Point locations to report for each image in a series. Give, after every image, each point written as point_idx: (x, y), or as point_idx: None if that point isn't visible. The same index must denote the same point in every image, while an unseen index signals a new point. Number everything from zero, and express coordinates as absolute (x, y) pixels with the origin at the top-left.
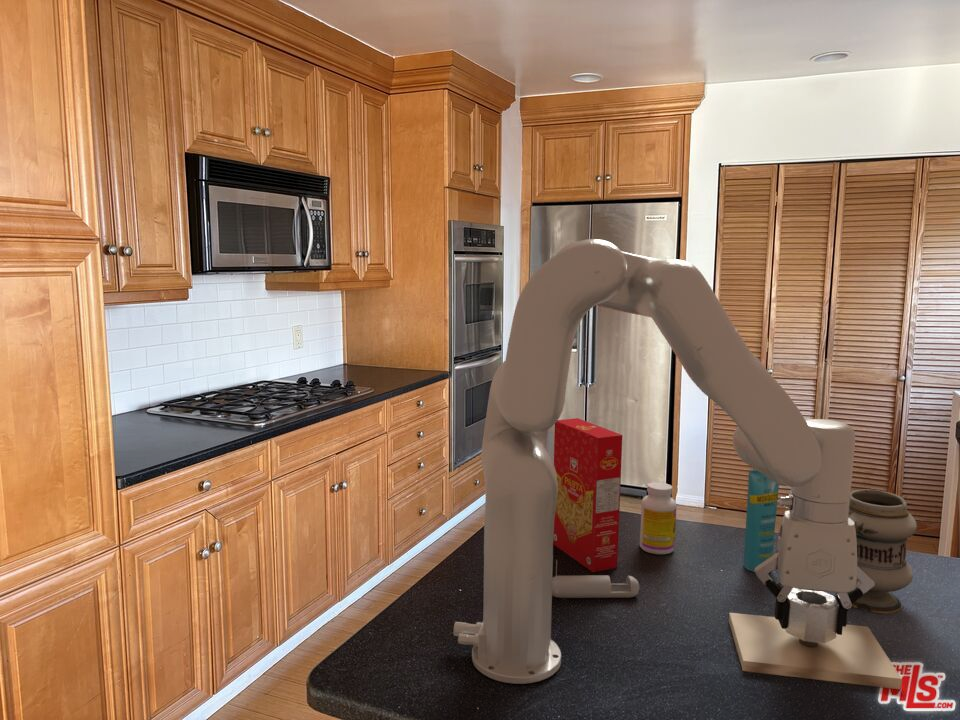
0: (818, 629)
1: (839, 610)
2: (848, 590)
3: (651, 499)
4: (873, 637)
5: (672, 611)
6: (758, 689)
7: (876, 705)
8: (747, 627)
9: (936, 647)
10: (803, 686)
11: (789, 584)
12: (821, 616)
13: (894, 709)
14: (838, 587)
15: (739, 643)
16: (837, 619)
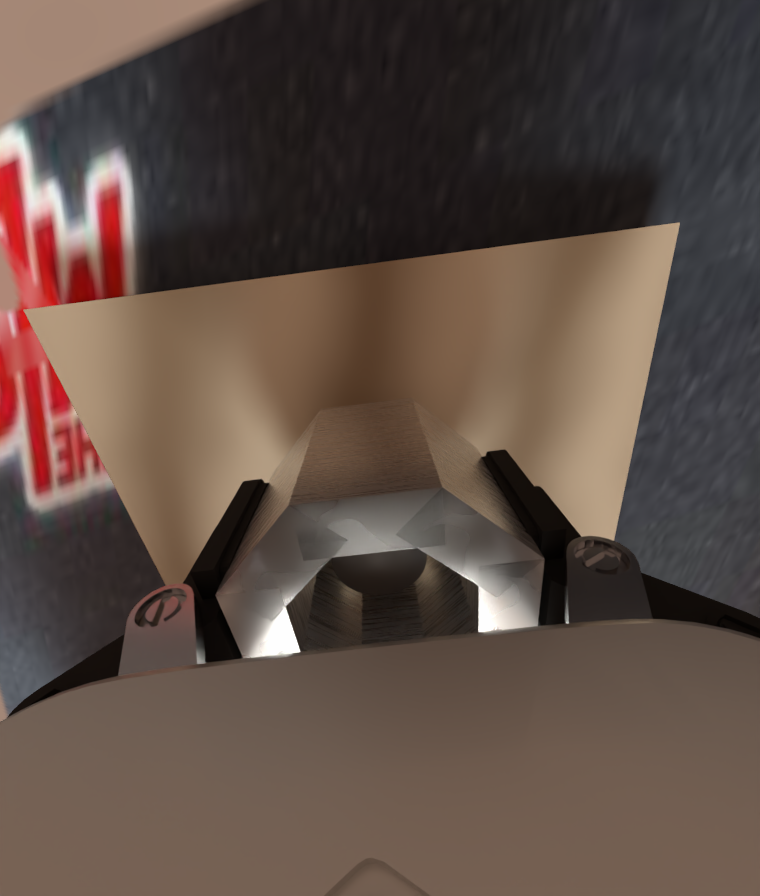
0: (350, 430)
1: (222, 562)
2: (32, 713)
3: None
4: (162, 569)
5: (750, 552)
6: (623, 70)
7: (130, 123)
8: (573, 501)
9: (12, 598)
10: (418, 184)
11: (709, 644)
12: (335, 471)
13: (56, 114)
14: (127, 731)
15: (644, 375)
16: (248, 524)
